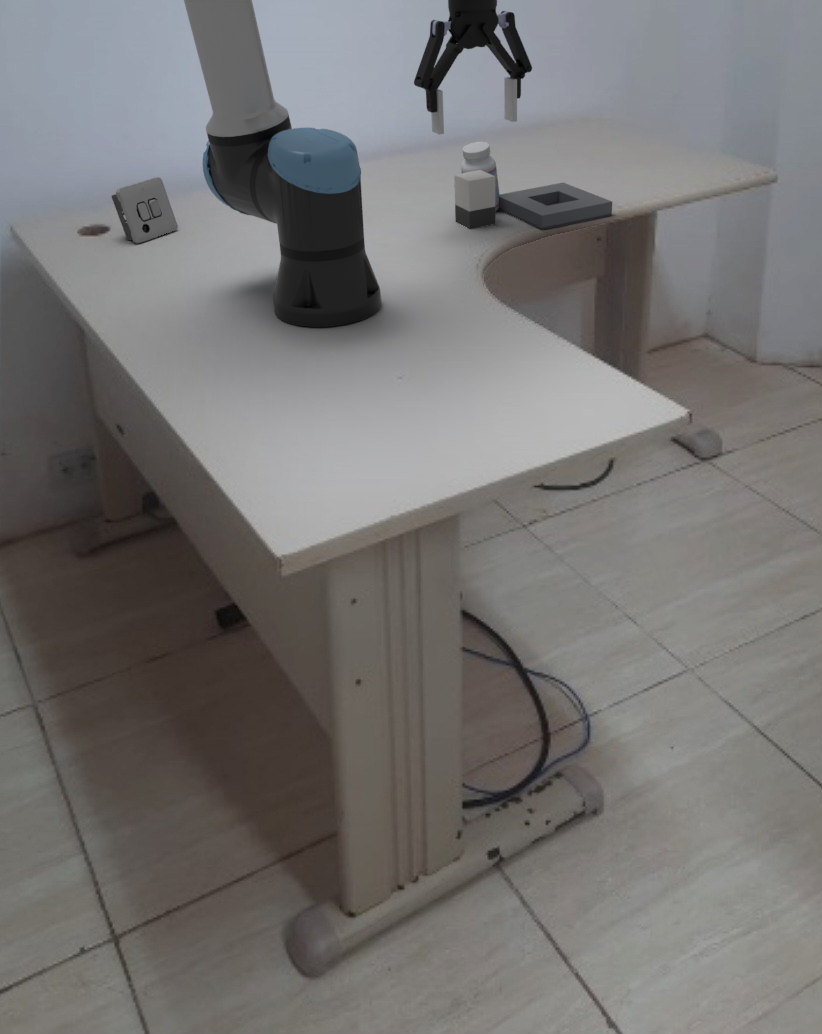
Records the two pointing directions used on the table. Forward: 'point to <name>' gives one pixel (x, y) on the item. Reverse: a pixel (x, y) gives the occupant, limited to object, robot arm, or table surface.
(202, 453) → the table surface
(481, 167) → the pill bottle
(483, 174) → the plug
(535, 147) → the table surface
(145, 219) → the electrical switch
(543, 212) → the socket plate
